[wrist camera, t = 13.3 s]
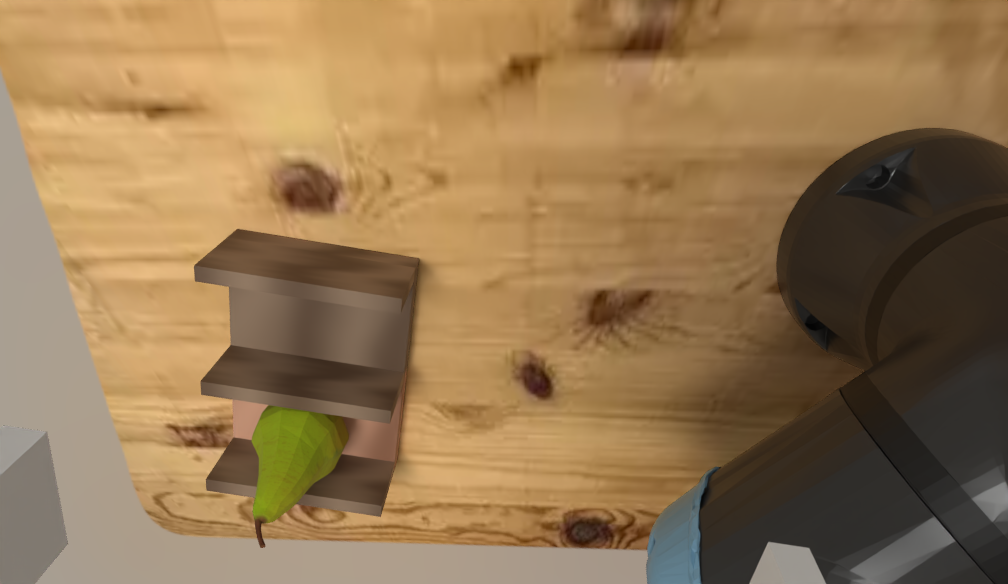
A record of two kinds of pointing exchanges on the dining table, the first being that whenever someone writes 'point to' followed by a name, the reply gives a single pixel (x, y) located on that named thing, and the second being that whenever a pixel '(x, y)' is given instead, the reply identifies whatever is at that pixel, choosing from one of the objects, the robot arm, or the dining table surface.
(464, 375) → the dining table surface
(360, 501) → the rack
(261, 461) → the fruit
